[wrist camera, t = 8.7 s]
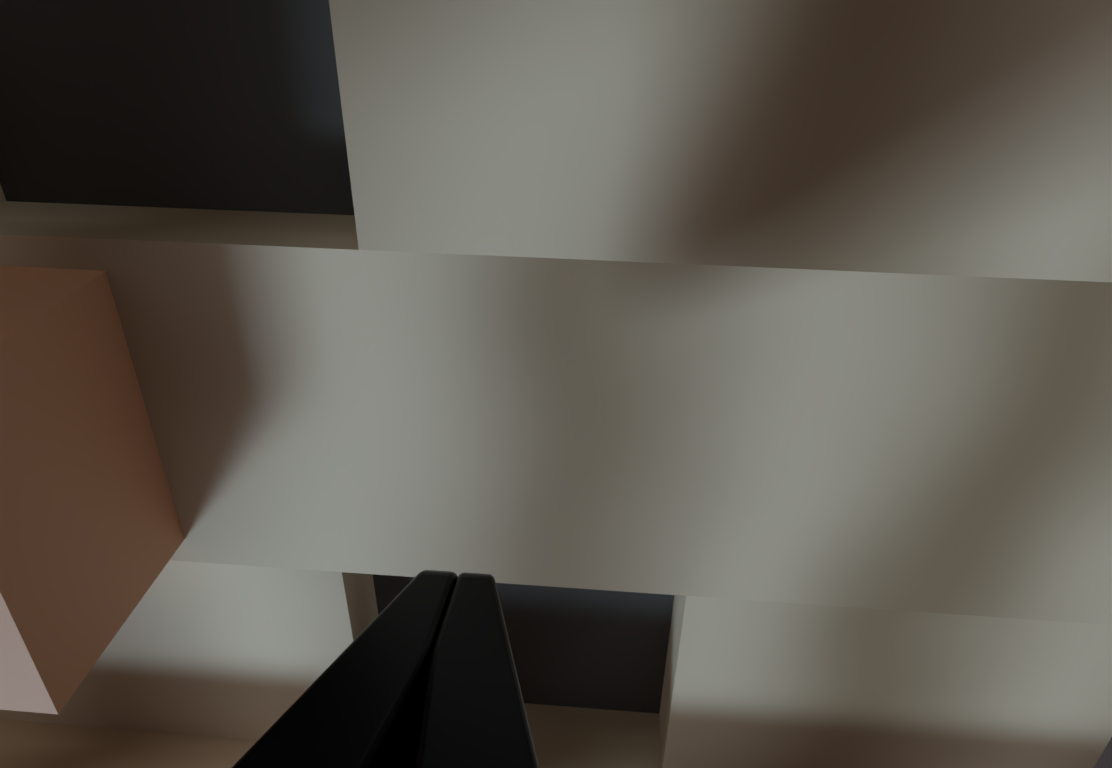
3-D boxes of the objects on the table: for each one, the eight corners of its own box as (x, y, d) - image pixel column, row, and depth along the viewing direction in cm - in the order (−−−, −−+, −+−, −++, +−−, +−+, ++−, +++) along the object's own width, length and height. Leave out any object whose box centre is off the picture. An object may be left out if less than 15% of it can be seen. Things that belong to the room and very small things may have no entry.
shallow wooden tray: (1529, -292, 8) (2296, -476, 5) (1010, 746, 18) (1119, 978, 14) (-501, -293, 10) (-1228, -433, 6) (-4, 667, 19) (-165, 856, 15)
